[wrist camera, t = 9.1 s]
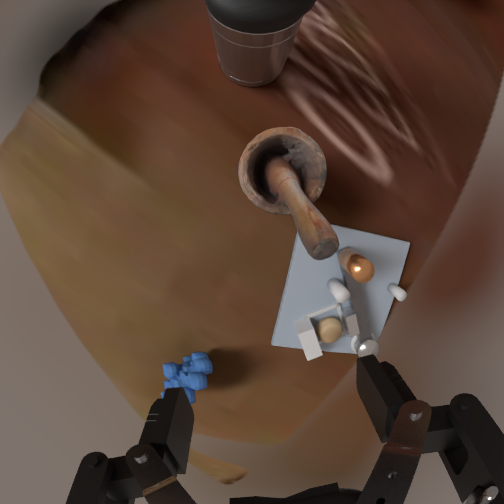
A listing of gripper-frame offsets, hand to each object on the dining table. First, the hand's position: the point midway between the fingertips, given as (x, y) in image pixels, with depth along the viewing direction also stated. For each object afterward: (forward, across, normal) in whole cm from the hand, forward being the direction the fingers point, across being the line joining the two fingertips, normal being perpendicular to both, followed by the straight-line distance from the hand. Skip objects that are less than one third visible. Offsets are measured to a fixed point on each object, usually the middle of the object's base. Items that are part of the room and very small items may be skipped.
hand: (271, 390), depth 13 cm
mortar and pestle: (+32, -5, -8) cm, 33 cm away
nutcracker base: (+31, -12, +11) cm, 35 cm away
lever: (+29, -13, +12) cm, 34 cm away
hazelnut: (+30, -9, +15) cm, 35 cm away
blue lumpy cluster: (+31, +14, +17) cm, 39 cm away
